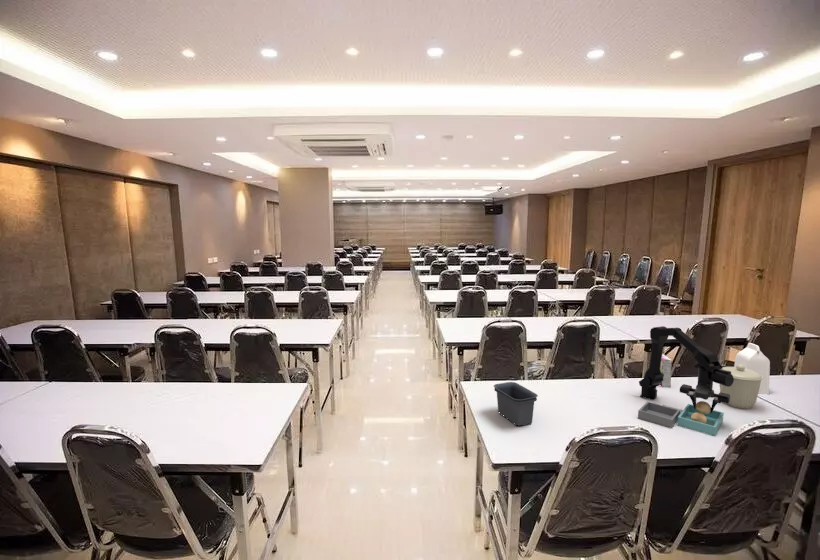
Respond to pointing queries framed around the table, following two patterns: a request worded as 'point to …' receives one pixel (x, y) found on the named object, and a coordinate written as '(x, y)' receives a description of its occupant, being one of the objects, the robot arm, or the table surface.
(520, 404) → the storage bin
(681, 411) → the pattern card
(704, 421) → the maple ball resting
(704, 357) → the robot arm
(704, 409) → the maple ball
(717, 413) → the holder
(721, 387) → the canister
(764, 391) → the milk
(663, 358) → the candy bar box
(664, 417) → the tray
